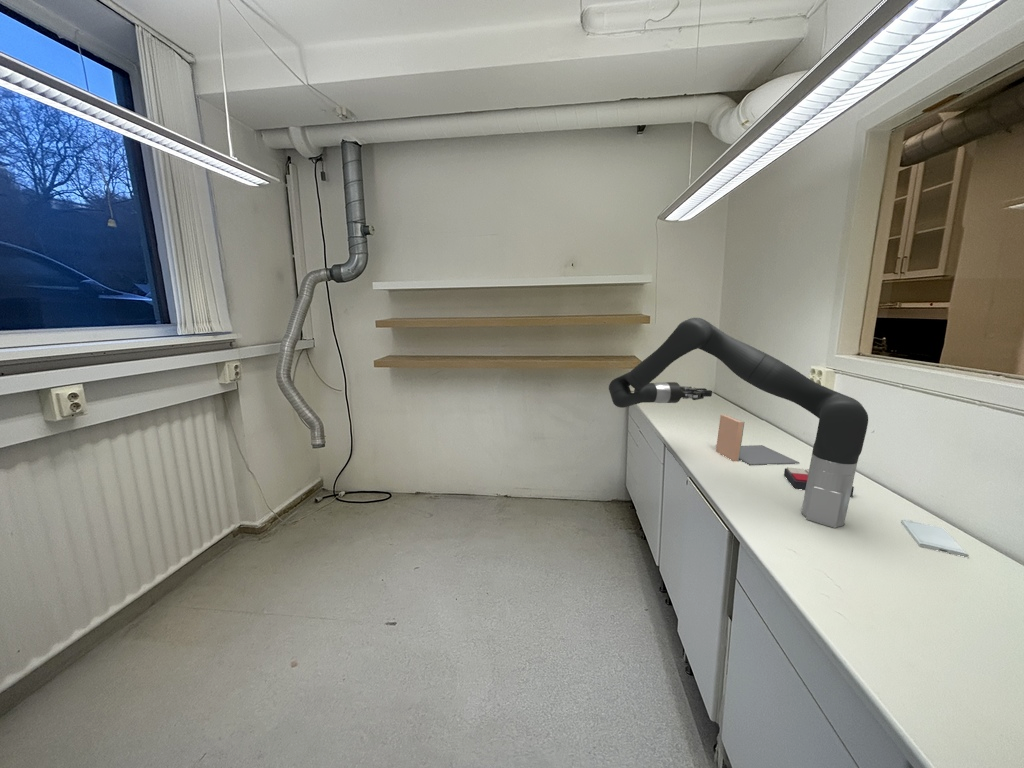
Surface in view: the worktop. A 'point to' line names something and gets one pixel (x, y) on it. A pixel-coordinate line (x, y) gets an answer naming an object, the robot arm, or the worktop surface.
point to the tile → (730, 437)
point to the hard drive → (933, 538)
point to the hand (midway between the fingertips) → (708, 392)
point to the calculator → (800, 478)
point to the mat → (763, 456)
